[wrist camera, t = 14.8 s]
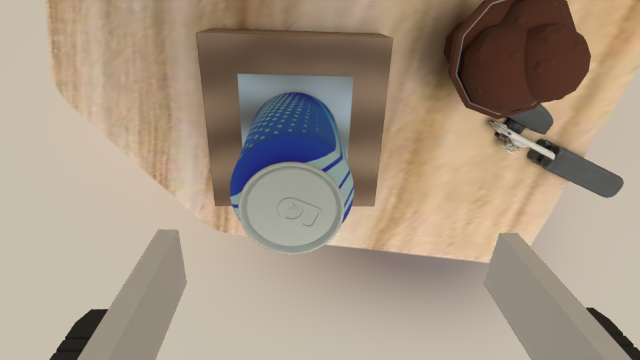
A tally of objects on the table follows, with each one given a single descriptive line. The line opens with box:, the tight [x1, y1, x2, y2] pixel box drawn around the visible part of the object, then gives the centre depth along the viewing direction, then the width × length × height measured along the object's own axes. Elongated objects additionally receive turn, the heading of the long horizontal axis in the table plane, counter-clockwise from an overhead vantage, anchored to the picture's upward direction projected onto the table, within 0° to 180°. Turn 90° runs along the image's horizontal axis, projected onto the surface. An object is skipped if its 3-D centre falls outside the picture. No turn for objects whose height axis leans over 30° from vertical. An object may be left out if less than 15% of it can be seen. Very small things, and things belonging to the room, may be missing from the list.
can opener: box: [489, 104, 623, 198], centre depth 44 cm, size 19×6×5 cm, turn 61°
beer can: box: [230, 92, 354, 255], centre depth 30 cm, size 8×8×16 cm
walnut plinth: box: [196, 29, 393, 206], centre depth 40 cm, size 18×18×6 cm
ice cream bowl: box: [444, 0, 591, 119], centre depth 33 cm, size 11×11×15 cm
